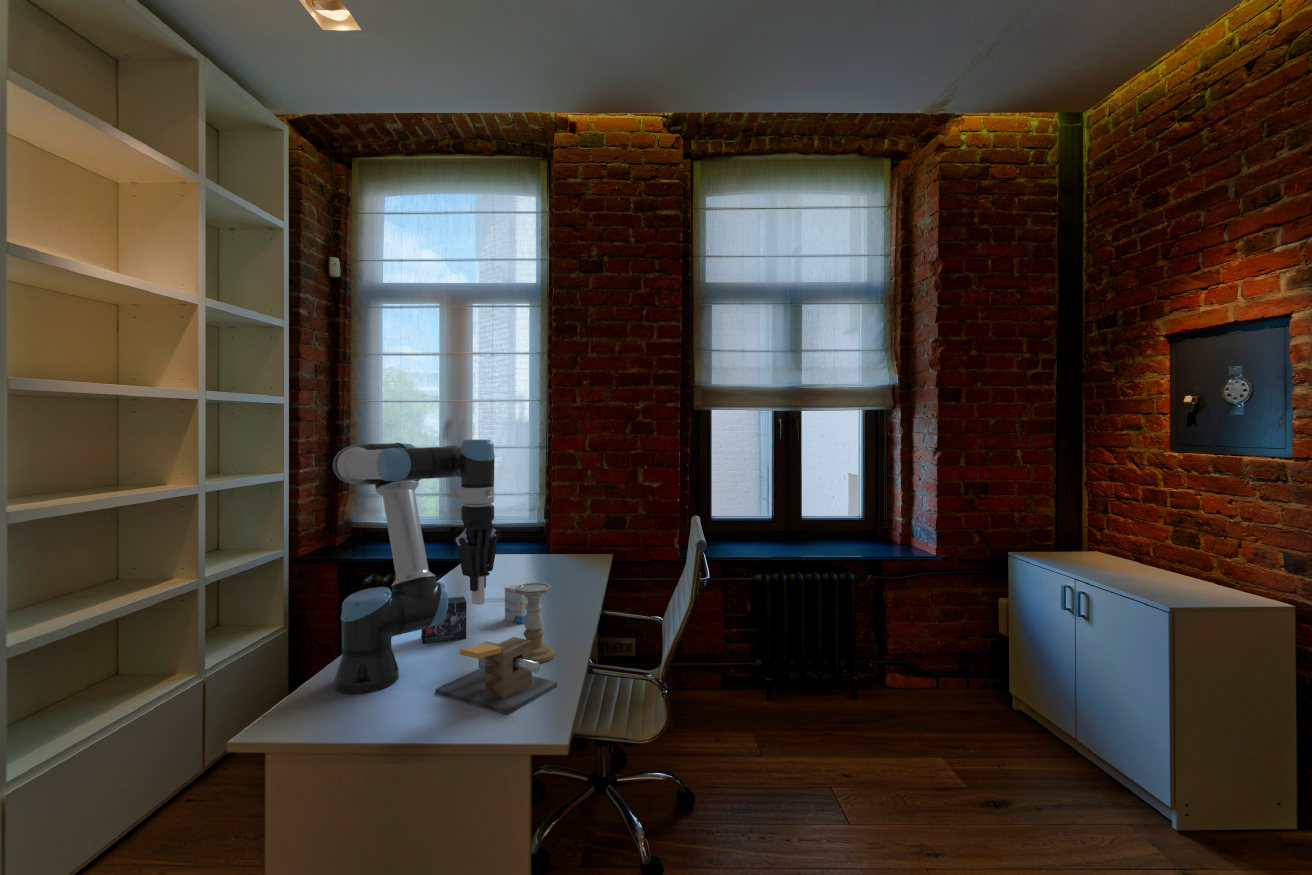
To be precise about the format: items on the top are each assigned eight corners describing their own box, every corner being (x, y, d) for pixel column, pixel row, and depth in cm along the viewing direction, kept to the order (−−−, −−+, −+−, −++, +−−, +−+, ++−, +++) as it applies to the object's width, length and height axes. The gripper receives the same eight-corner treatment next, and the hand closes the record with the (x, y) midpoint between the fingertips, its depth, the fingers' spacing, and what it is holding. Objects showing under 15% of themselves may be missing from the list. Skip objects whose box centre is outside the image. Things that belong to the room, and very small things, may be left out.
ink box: (539, 617, 213) (539, 584, 213) (522, 624, 206) (521, 589, 206) (521, 613, 218) (521, 581, 218) (504, 620, 211) (503, 586, 210)
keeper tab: (459, 654, 142) (460, 648, 142) (486, 648, 150) (487, 642, 150) (477, 658, 139) (477, 653, 139) (504, 652, 147) (504, 646, 147)
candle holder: (510, 665, 170) (510, 593, 170) (513, 650, 182) (513, 582, 182) (555, 662, 172) (555, 591, 171) (555, 647, 184) (555, 580, 184)
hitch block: (435, 692, 152) (435, 644, 152) (488, 668, 168) (488, 624, 168) (507, 714, 140) (507, 662, 140) (557, 686, 156) (557, 639, 156)
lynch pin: (475, 669, 154) (475, 645, 154) (489, 662, 159) (489, 639, 159) (529, 683, 146) (529, 658, 146) (543, 676, 150) (543, 651, 150)
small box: (422, 645, 187) (421, 606, 186) (420, 638, 193) (420, 600, 193) (467, 638, 192) (466, 600, 192) (464, 632, 198) (464, 595, 198)
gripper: (468, 508, 137) (468, 613, 138) (509, 502, 149) (509, 598, 149) (444, 506, 141) (445, 607, 142) (486, 500, 152) (486, 594, 153)
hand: (478, 603), depth 145 cm, fingers closed
